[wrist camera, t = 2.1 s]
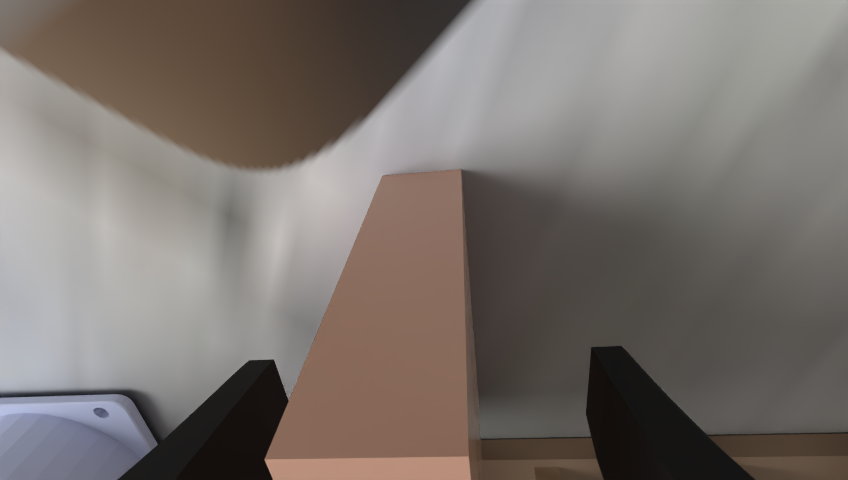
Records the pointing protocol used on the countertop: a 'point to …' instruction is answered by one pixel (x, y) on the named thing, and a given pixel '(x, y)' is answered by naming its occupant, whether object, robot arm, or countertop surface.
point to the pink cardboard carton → (392, 350)
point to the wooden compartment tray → (757, 454)
